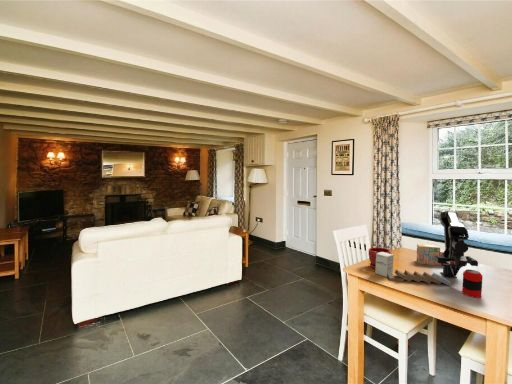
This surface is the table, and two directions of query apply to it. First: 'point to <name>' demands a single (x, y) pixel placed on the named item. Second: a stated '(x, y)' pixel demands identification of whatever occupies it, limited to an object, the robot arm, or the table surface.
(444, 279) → the domino
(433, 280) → the domino
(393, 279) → the domino
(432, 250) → the printed cardboard carton
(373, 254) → the plant pot
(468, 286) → the soda can
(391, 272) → the supplement box
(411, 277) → the domino
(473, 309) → the table surface
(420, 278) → the domino
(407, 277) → the domino
